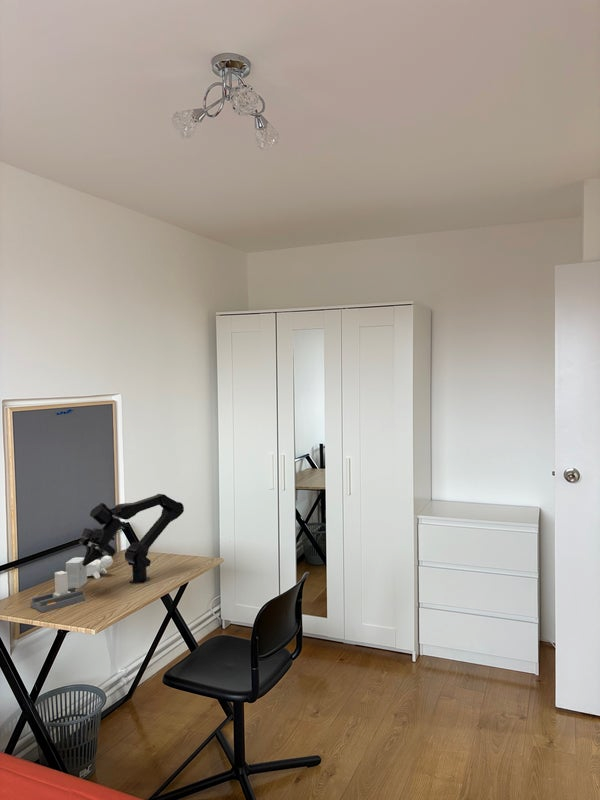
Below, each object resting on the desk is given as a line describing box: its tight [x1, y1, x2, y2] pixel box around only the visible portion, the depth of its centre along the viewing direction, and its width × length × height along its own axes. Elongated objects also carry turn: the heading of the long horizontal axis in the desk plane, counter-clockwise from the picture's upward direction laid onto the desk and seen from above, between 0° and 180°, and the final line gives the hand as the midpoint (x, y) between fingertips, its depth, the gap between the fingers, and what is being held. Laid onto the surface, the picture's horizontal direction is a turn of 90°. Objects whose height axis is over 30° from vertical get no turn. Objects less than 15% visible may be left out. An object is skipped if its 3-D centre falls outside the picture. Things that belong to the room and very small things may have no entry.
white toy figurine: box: [87, 555, 114, 580], centre depth 262 cm, size 9×8×15 cm
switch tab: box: [53, 570, 71, 597], centre depth 228 cm, size 5×4×9 cm
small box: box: [65, 557, 88, 589], centre depth 249 cm, size 8×6×10 cm
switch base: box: [30, 587, 86, 613], centre depth 227 cm, size 16×10×4 cm, turn 137°
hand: (83, 565), depth 235 cm, fingers closed
